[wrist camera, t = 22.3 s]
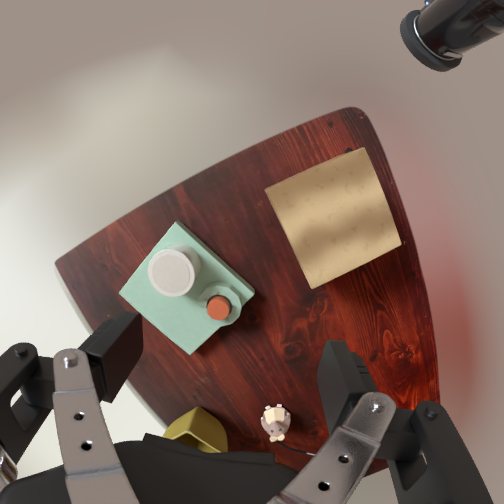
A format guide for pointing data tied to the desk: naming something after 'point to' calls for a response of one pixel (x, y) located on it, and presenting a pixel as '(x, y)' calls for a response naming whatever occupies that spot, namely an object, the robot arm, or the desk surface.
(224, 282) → the scale
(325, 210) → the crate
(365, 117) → the desk surface
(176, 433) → the flower pot
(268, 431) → the mouse figurine
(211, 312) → the button
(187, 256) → the ramekin
